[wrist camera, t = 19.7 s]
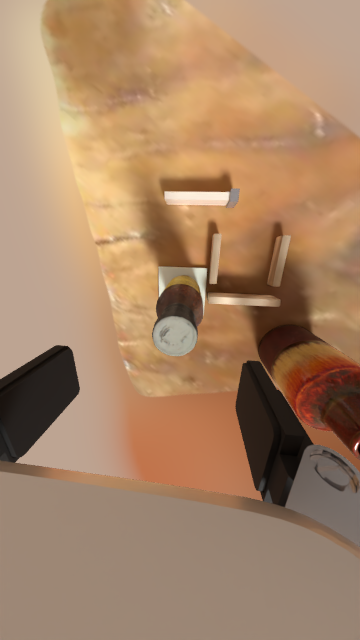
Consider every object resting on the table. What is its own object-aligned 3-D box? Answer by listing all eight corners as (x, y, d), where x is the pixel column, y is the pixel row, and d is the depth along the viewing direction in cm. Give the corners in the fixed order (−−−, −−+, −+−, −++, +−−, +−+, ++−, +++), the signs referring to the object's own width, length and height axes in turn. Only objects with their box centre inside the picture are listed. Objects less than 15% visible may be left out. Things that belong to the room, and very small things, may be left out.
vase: (258, 371, 39) (318, 481, 20) (258, 327, 35) (332, 407, 16) (310, 368, 38) (429, 482, 18) (315, 321, 34) (469, 402, 15)
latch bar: (234, 196, 28) (239, 188, 25) (233, 207, 29) (238, 201, 26) (167, 195, 29) (164, 188, 26) (167, 206, 29) (164, 200, 26)
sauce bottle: (161, 284, 34) (120, 316, 15) (190, 268, 32) (185, 281, 13) (178, 313, 35) (159, 375, 17) (206, 299, 34) (220, 349, 15)
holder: (283, 237, 30) (296, 234, 26) (270, 301, 34) (279, 306, 30) (212, 235, 31) (214, 232, 27) (207, 298, 34) (208, 303, 31)
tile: (207, 268, 32) (207, 268, 32) (203, 314, 35) (203, 315, 35) (159, 266, 33) (158, 266, 32) (159, 311, 36) (159, 312, 36)
